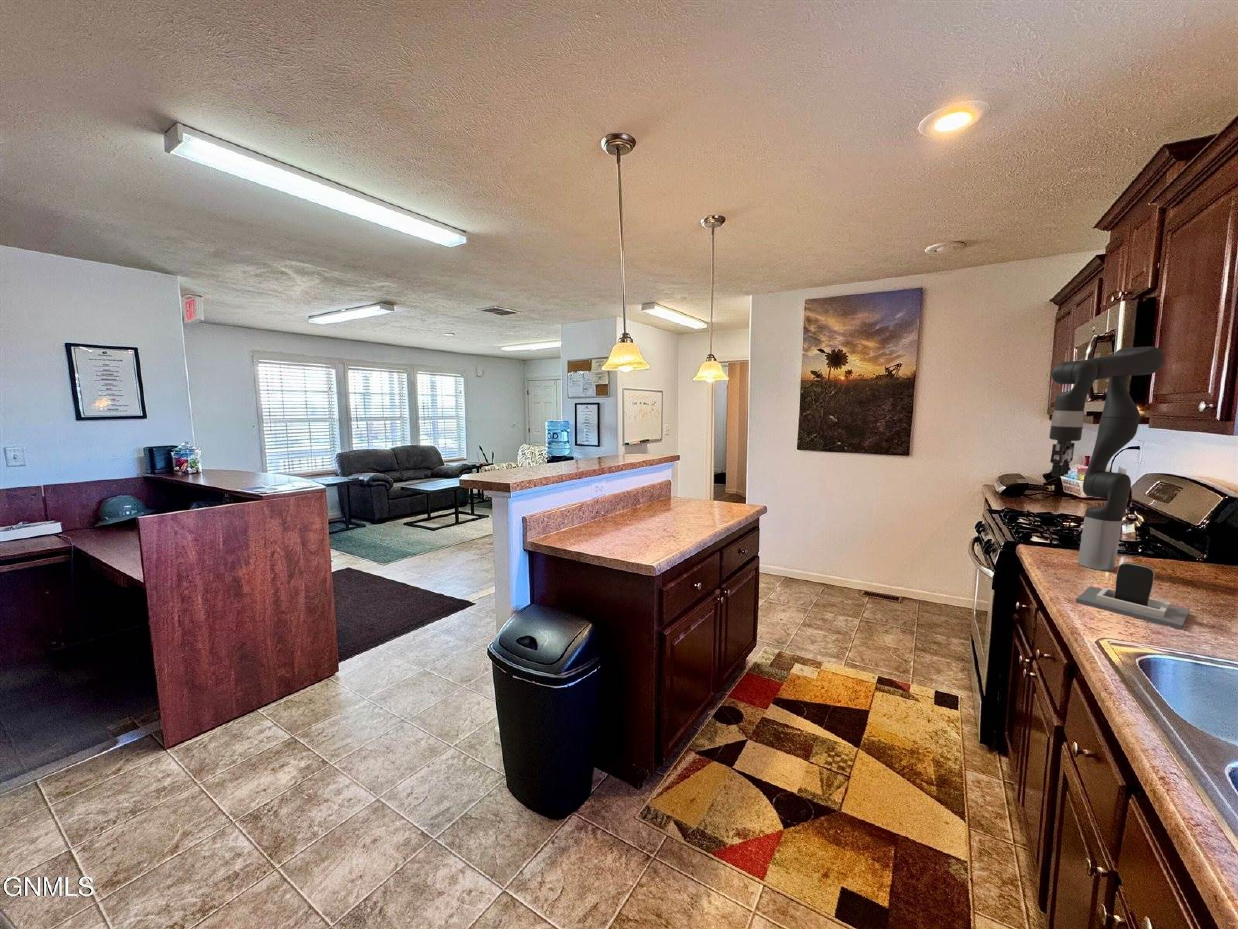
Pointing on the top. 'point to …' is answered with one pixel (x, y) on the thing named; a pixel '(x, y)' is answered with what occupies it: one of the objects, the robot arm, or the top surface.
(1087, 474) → the robot arm
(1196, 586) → the top surface
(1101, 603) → the holder
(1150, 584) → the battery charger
